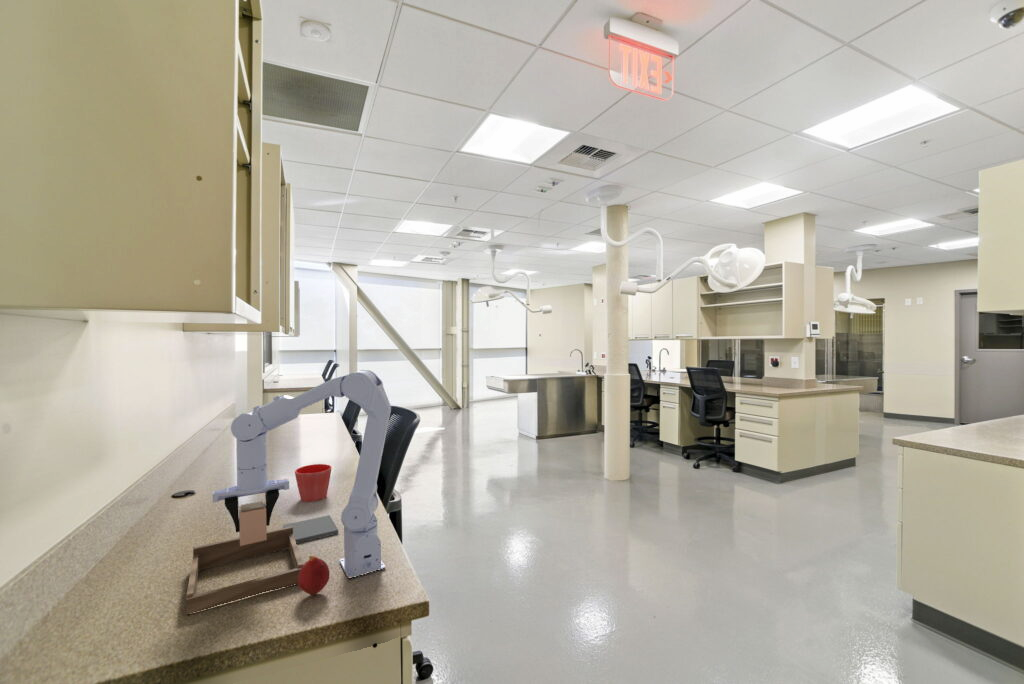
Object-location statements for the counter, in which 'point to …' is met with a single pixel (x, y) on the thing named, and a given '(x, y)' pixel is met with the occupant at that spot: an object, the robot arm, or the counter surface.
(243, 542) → the upright tan block
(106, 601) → the counter surface
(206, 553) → the open wooden frame
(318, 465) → the flower pot
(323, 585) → the onion
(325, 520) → the rubber mat
